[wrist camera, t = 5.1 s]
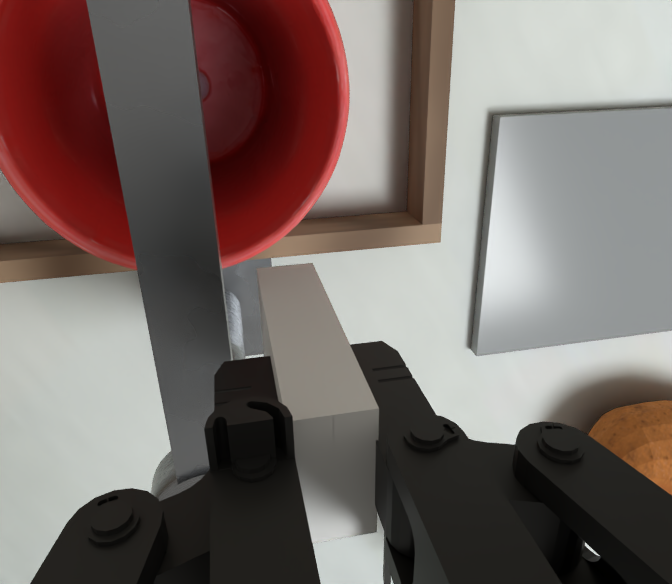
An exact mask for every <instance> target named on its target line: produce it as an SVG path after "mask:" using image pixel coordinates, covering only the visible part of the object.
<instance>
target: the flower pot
mask: <svg viewBox="0 0 672 584" xmlns="http://www.w3.org/2000/svg"><path fill="white" fill-rule="evenodd" d="M190 2H191V10H192V19H193V27H194V36H195V44H196V53H197V61H198V69H199V78H200V86H201V95H202V103H203V111H204V120H205V128H206V137H207V145H208V154H209V162H210V170H211V179H212V187H213V196H214V204H215V212H216V221H217V229H218V238H219V246H220V254H221V263H222V269H224V268H227V267H230V266H233V265H235V264H238V263H241V262H243V261H245V260H247V259H250V258H252V257H254V256H255V255H257V254H259V253H261V252H263V251H264V250H266V249H268V248H269V247H271V246H272V245H273V244H275V243H276V242H277V241H279V240H280V239H282V238H283V237H284V236H285V235H287V234H288V233H289V232H290V231H291V230H292V229H293V228H294V227H295V226H296V225H297V224H299V222H300V221H301V220H302V219H303V218H304V217H305V215H306V214H307V213H308V212H309V210H310V209H311V208H312V207H313V205H314V204H315V203H316V201H317V200H318V198H319V197H320V195H321V194H322V192H323V190H324V189H325V187H326V185H327V183H328V182H329V180H330V178H331V176H332V173H333V171H334V169H335V167H336V164H337V161H338V159H339V156H340V152H341V149H342V145H343V140H344V137H345V132H346V127H347V121H348V113H349V76H348V67H347V60H346V55H345V50H344V46H343V42H342V38H341V34H340V31H339V28H338V25H337V23H336V20H335V17H334V14H333V12H332V9H331V7H330V5H329V2H328V0H190ZM0 169H1V170H2V172H3V174H4V175H5V177H6V178H7V180H8V181H9V183H10V184H11V186H12V187H13V188H14V190H15V191H16V192H17V194H18V195H19V196H20V197H21V198H22V200H23V201H24V202H25V203H26V204H27V205H28V206H29V207H30V209H31V210H32V211H33V212H34V213H35V214H36V215H37V216H38V217H39V218H40V219H41V220H42V221H43V222H44V223H45V224H47V225H48V226H49V227H50V228H52V229H53V230H54V231H56V232H57V233H58V234H59V235H61V236H62V237H64V238H65V239H67V240H68V241H70V242H71V243H73V244H74V245H76V246H77V247H79V248H81V249H82V250H84V251H86V252H88V253H90V254H92V255H94V256H96V257H98V258H100V259H103V260H105V261H108V262H110V263H113V264H117V265H120V266H123V267H126V268H130V269H134V270H137V266H136V260H135V255H134V250H133V245H132V239H131V234H130V229H129V223H128V218H127V213H126V208H125V202H124V197H123V192H122V187H121V181H120V176H119V171H118V165H117V160H116V155H115V150H114V144H113V139H112V134H111V129H110V123H109V118H108V113H107V107H106V102H105V97H104V92H103V86H102V81H101V76H100V70H99V65H98V60H97V55H96V49H95V44H94V39H93V34H92V28H91V23H90V18H89V12H88V7H87V2H86V0H0Z"/></svg>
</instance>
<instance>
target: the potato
mask: <svg viewBox="0 0 672 584" xmlns="http://www.w3.org/2000/svg"><path fill="white" fill-rule="evenodd" d="M588 435H589V436H590V437H592V438H593V439H595V440H596V441H597V442H599V443H600V444H601V445H603V446H604V447H606V448H607V449H608V450H610V451H611V452H612V453H614V454H615V455H617V456H618V457H619V458H621V459H622V460H624V461H625V462H626V463H628V464H629V465H630V466H632V467H633V468H635V469H636V470H637V471H639V472H640V473H642V474H643V475H644V476H646V477H647V478H648V479H650V480H651V481H653V482H654V483H655V484H657V485H658V486H660V487H661V488H662V489H664V490H665V491H666V492H668V493H669V494H671V495H672V401H668V400H661V401H653V402H645V403H639V404H634V405H629V406H624V407H619V408H615V409H613V410H611V411H609V412H607V413H605V414H603V415H602V416H601V417H600V419H599V420H598V421H597V422H596V423H595V425H594V426H593V427H592V429H591V431H590V432H589V434H588Z"/></svg>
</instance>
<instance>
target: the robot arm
mask: <svg viewBox="0 0 672 584" xmlns="http://www.w3.org/2000/svg"><path fill="white" fill-rule="evenodd" d="M256 269H257V281H258V293H259V305H260V317H261V328H262V340H263V352H264V357H257V358H249V359H241V360H232V361H224V362H223V364H222V365H221V367H220V368H219V369H218V371H217V372H216V374H215V375H214V406H215V407H214V412H213V413H212V414H211V415H210V416H209V417H208V418H207V421H206V424H205V427H204V432H205V439H206V446H207V453H208V460H209V466H210V469H209V470H208V472H207V473H206V474H205V475H204V476H203V477H202V479H201V480H199V481H198V482H197V483H195V484H194V485H193V486H191V487H190V488H188V489H186V490H184V491H182V492H180V493H178V494H176V495H173V496H171V497H169V498H166V499H164V500H161V501H159V499H158V498H157V497H155V496H154V495H152V494H151V493H149V492H148V491H144V490H138V489H133V488H130V489H123V490H115V491H111V492H109V493H106V494H104V495H101V496H99V497H96V498H94V499H93V500H91V501H90V502H88V503H87V504H86V505H84V506H83V507H81V508H80V509H79V510H78V511H77V512H76V513H75V514H74V515H73V517H72V518H71V519H70V520H69V521H68V522H67V524H66V525H65V527H64V529H63V530H62V532H61V534H60V535H59V537H58V539H57V540H56V542H55V544H54V545H53V547H52V549H51V550H50V552H49V554H48V555H47V557H46V559H45V560H44V562H43V563H42V565H41V567H40V568H39V570H38V572H37V573H36V575H35V577H34V578H33V580H32V582H31V583H30V584H320V579H319V574H318V569H317V564H316V559H315V554H314V549H313V544H314V543H319V542H325V541H330V540H336V539H341V538H346V537H352V536H357V535H363V534H368V533H374V532H377V512H378V515H379V518H380V520H381V523H382V526H383V529H384V565H383V580H384V584H391V577H392V580H393V583H394V584H672V495H671V494H669V493H668V492H666V491H665V490H664V489H662V488H661V487H660V486H658V485H657V484H655V483H654V482H653V481H651V480H650V479H648V478H647V477H646V476H644V475H643V474H642V473H640V472H639V471H637V470H636V469H635V468H633V467H632V466H630V465H629V464H628V463H626V462H625V461H624V460H622V459H621V458H619V457H618V456H617V455H615V454H614V453H612V452H611V451H610V450H608V449H607V448H606V447H604V446H603V445H601V444H600V443H599V442H597V441H596V440H595V439H593V438H592V437H590V436H589V435H587V434H585V433H583V432H582V431H580V430H578V429H576V428H574V427H571V426H567V425H564V424H561V423H553V422H539V423H534V424H529V425H528V426H526V427H524V428H523V429H521V430H520V432H519V434H518V436H517V438H516V444H515V445H511V444H499V443H487V442H480V441H474V440H471V439H468V437H467V436H466V434H465V433H464V431H463V430H462V429H461V428H460V427H459V426H458V425H457V424H456V423H454V422H452V421H450V420H448V419H446V418H444V417H442V416H437V415H436V414H435V412H434V411H433V409H432V407H431V406H430V404H429V402H428V401H427V399H426V397H425V396H424V394H423V392H422V391H421V389H420V387H419V386H418V384H417V382H416V381H415V379H414V378H412V374H411V373H410V371H409V369H408V368H407V367H406V364H405V363H404V361H403V359H402V358H401V356H400V354H399V353H398V351H396V350H395V349H393V348H392V347H390V346H389V345H387V344H386V343H384V342H383V341H377V342H369V343H361V344H352V345H350V344H349V342H348V340H347V337H346V335H345V333H344V331H343V329H342V327H341V324H340V322H339V320H338V318H337V316H336V313H335V311H334V309H333V307H332V305H331V303H330V300H329V298H328V296H327V294H326V292H325V289H324V287H323V285H322V283H321V281H320V278H319V276H318V274H317V272H316V270H315V268H314V265H313V263H308V264H297V265H286V266H275V267H264V268H256ZM585 542H586V543H587V544H588V545H589V546H590V547H591V548H592V549H593V550H594V551H595V552H596V553H597V554H599V555H600V556H601V557H600V556H597V555H595V554H594V553H593V552H591V551H590V550H589V549H588V548H587V547H586V546H585Z"/></svg>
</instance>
